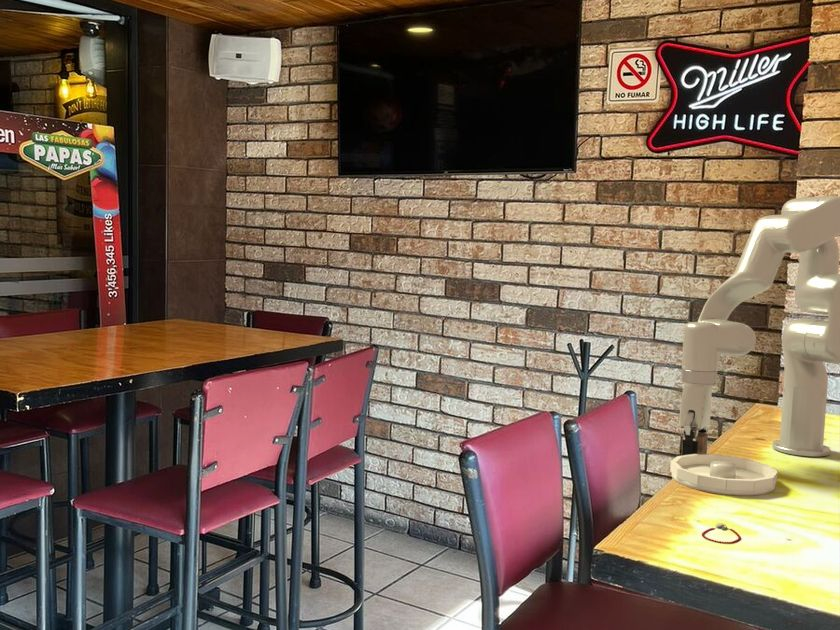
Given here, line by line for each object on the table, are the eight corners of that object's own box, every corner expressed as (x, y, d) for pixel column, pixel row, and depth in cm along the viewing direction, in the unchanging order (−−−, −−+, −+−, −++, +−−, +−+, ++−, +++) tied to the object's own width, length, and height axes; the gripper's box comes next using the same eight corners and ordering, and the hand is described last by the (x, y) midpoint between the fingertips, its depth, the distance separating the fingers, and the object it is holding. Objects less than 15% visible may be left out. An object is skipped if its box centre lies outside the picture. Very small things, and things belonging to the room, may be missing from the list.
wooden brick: (686, 456, 192) (688, 430, 191) (706, 459, 190) (707, 433, 189) (681, 460, 188) (683, 434, 188) (701, 463, 186) (703, 437, 185)
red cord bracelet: (709, 525, 145) (709, 520, 145) (745, 532, 142) (746, 526, 142) (698, 540, 138) (698, 534, 137) (736, 548, 135) (737, 542, 134)
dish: (685, 462, 186) (685, 447, 186) (782, 478, 176) (783, 461, 175) (660, 483, 169) (661, 466, 169) (765, 502, 159) (767, 483, 158)
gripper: (691, 371, 197) (687, 443, 198) (671, 380, 182) (667, 459, 183) (724, 374, 193) (720, 448, 194) (707, 384, 178) (702, 464, 179)
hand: (694, 453), depth 189 cm, fingers open, 8 cm apart
